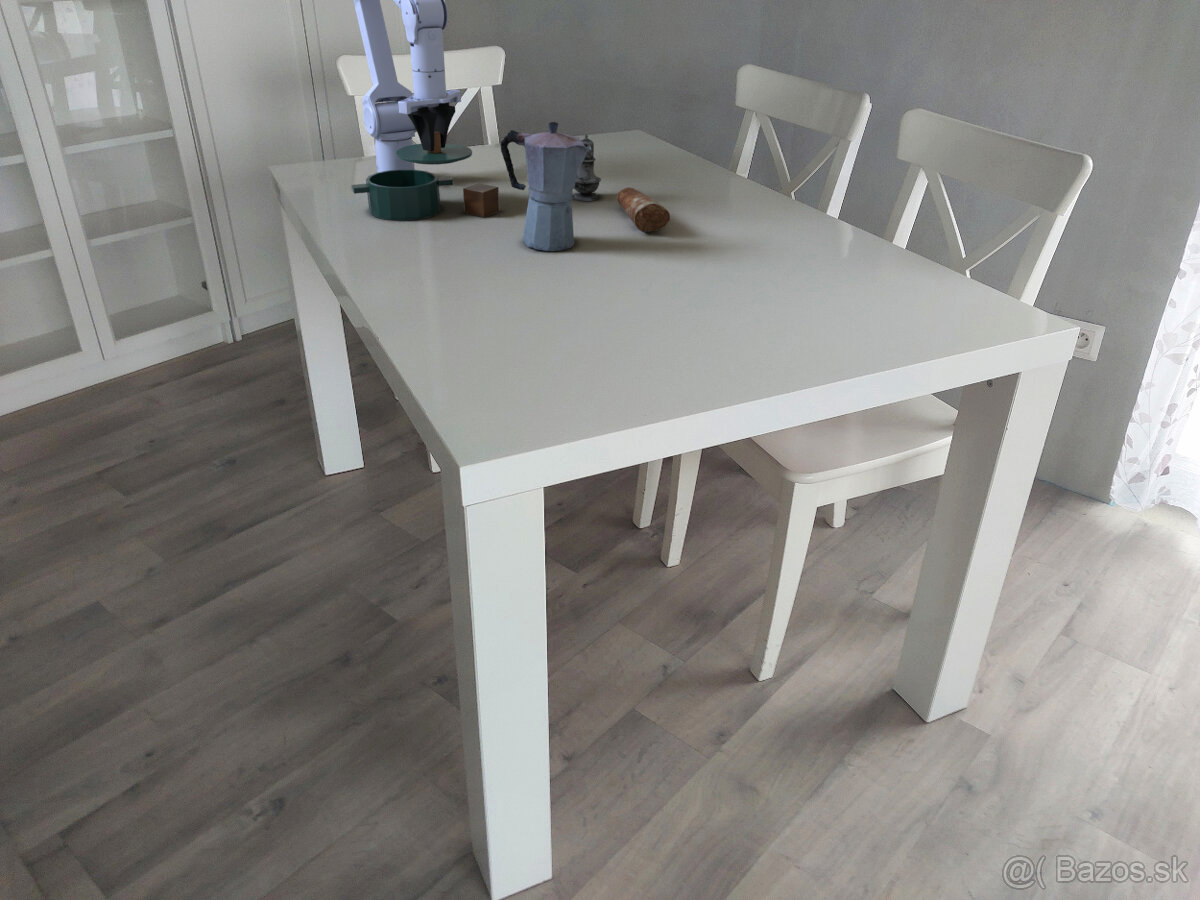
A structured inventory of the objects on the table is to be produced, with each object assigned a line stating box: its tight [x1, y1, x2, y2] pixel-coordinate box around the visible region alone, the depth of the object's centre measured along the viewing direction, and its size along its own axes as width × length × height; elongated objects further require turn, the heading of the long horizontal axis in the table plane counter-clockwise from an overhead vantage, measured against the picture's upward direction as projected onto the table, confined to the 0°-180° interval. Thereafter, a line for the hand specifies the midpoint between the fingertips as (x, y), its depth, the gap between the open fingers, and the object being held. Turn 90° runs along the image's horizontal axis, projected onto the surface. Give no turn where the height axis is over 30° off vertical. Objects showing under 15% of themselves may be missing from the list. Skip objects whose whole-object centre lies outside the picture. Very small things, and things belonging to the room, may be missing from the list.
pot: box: [351, 169, 454, 222], centre depth 172 cm, size 13×18×6 cm
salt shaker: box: [571, 133, 602, 202], centre depth 180 cm, size 6×6×12 cm
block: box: [462, 182, 500, 218], centre depth 172 cm, size 5×5×5 cm
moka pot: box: [500, 121, 592, 252], centre depth 153 cm, size 10×15×20 cm, turn 78°
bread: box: [616, 187, 671, 233], centre depth 170 cm, size 6×19×6 cm, turn 11°
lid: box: [396, 132, 473, 166], centre depth 171 cm, size 14×14×4 cm
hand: (434, 148), depth 172 cm, fingers closed on lid, 2 cm apart
